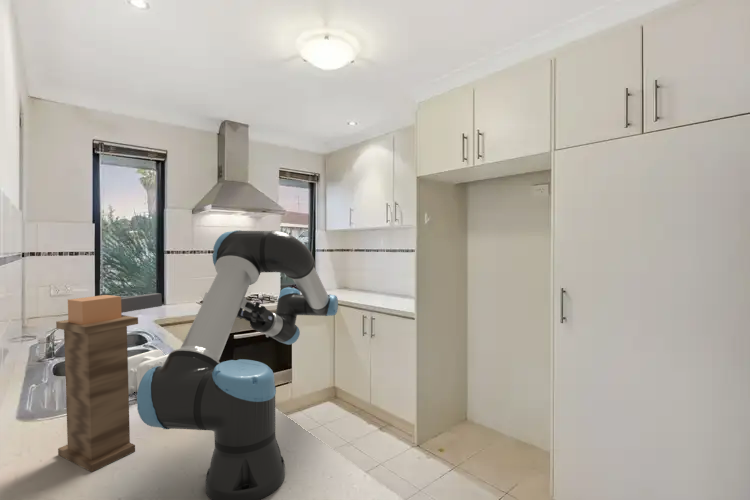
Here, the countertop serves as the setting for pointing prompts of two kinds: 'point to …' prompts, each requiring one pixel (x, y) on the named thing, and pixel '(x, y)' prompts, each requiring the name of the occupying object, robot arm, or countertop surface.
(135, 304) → the plug
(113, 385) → the wooden pedestal
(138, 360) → the cable organizer
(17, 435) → the countertop surface
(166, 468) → the countertop surface
